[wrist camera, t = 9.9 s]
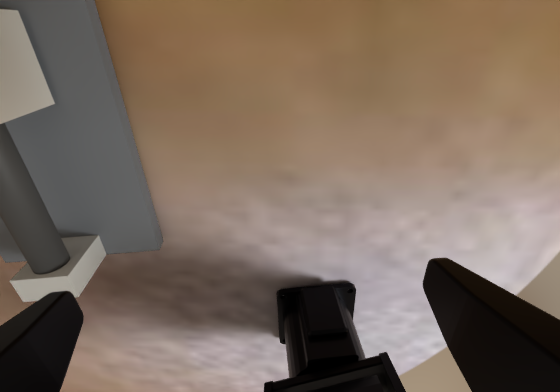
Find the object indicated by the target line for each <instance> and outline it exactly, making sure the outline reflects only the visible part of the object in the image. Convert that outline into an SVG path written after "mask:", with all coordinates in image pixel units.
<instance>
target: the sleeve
mask: <svg viewBox="0 0 560 392" xmlns="http://www.w3.org/2000/svg"><path fill="white" fill-rule="evenodd" d="M53 104H55V103H54V100H53V98H52V95H51V93H50V90H49V88H48V85H47V82H46V80H45V77H44V75H43V72H42V70H41V67H40V65H39V62H38V60H37V57H36V55H35V52H34V50H33V47H32V45H31V42H30V40H29V37H28V34H27V32H26V29H25V27H24V24H23V22H22V19H21V17H20V14H19V12H18V10H7V9H0V124H2V123H5V122H7V121H10V120H13V119H15V118H18V117H21V116H24V115H26V114H29V113H32V112H34V111H37V110H40V109H42V108H45V107H48V106H50V105H53Z"/></svg>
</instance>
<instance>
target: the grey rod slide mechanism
mask: <svg viewBox="0 0 560 392" xmlns="http://www.w3.org/2000/svg"><path fill="white" fill-rule="evenodd" d="M0 9H7V10H18V12H19V14H20V17H21V19H22V22H23V24H24V27H25V29H26V32H27V34H28V37H29V40H30V42H31V45H32V47H33V50H34V52H35V55H36V57H37V60H38V62H39V65H40V67H41V70H42V72H43V75H44V77H45V80H46V82H47V85H48V88H49V90H50V93H51V95H52V98H53V100H54V103H55V104H53V105H50V106H48V107H45V108H42V109H40V110H37V111H34V112H32V113H29V114H26V115H24V116H21V117H18V118H15V119H13V120H10V121H7V122H5V123H2V124H0V255H1V256H2V258H3V260H4V261H5V263H8V262H20V261H27V264H26V265H25V266H24V267H23V268H22V269H21V270H20V271H19V272H18V273H17V274H16V275H15V276H14V277H13V278H12V279H11V280H10V282H11V284H12V286H13V287H14V289H15V290H16V292H17V293H18V295H19V296H20V298H21V299H22V301H23V302H30V301H38V300H40V299H41V298H43V297H44V296H46V295H47V294H49V293H51V292H58V291H70V292H71V293H72V294H73V295H74V297H79V296H80V294H81V293H82V291H83V290H84V288H85V287H86V285H87V284H88V282H89V280H90V279H91V277H92V276H93V274H94V273H95V271H96V270H97V268H98V267H99V265H100V264H101V262H102V260H103V259H104V257H105V256H106V254H117V253H129V252H141V251H153V250H160V248H161V245H162V243H163V238H162V234H161V231H160V228H159V224H158V221H157V217H156V214H155V210H154V207H153V203H152V200H151V196H150V193H149V189H148V186H147V182H146V179H145V175H144V172H143V168H142V165H141V161H140V158H139V154H138V151H137V147H136V144H135V140H134V137H133V133H132V130H131V126H130V123H129V119H128V116H127V112H126V109H125V105H124V102H123V98H122V95H121V91H120V88H119V84H118V81H117V77H116V74H115V71H114V67H113V64H112V60H111V57H110V53H109V50H108V46H107V43H106V39H105V36H104V32H103V29H102V25H101V22H100V18H99V15H98V11H97V8H96V4H95V1H94V0H0Z"/></svg>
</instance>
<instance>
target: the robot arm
mask: <svg viewBox="0 0 560 392" xmlns="http://www.w3.org/2000/svg"><path fill="white" fill-rule="evenodd" d="M348 289H349V290H348ZM423 289H424V292H425V294H426V297H427V299H428V301H429V304H430V306H431V308H432V311H433V313H434V316H435V318H436V320H437V323H438V325H439V327H440V330H441V332H442V335H443V337H444V339H445V341H446V344H447V346H448V348H449V350H450V351H451V354H452V355H453V358H454V359H455V361H456V363H457V365H458V367H459V369H460V370H461V372H462V374H463V376H464V378H465V380H466V381H467V383H468V385H469V387H470V389H471V391H472V392H560V320H559V319H557V318H555V317H554V316H552V315H550V314H548V313H546V312H544V311H543V310H541V309H539V308H537V307H535V306H534V305H532V304H530V303H528V302H526V301H525V300H523V299H521V298H519V297H517V296H516V295H514V294H512V293H510V292H508V291H506V290H505V289H503V288H501V287H499V286H497V285H496V284H494V283H492V282H490V281H488V280H486V279H485V278H483V277H481V276H479V275H477V274H476V273H474V272H472V271H470V270H468V269H466V268H465V267H463V266H461V265H459V264H457V263H456V262H454V261H452V260H450V259H448V258H434V259H430V260H429V262H428V265H427V268H426V272H425V276H424V280H423ZM281 295H284V296H281ZM355 295H356V288H355V286H354V284H352V283H344V284H333V285H322V286H311V287H300V288H289V289H281V290H279V291H278V292H277V306H278V322H279V337H280V343H282V344H286V351H287V360H288V370H289V378H287V379H283V380H280V381H276V382H273V381H270V382H266V383H265V384H264V392H406V391H405V389H404V387H403V385H402V383H401V381H400V379H399V377H398V375H397V373H396V370H395V368H394V366H393V364H392V362H391V360H390V358H389V356H388V354H387V352H384V353H380V354H379V355H378V356H374V357H370V358H365V355H364V352H363V349H362V346H361V343H360V340H359V338H358V335H357V332H356V329H355V326H354V323H353V313H354V304H355ZM82 324H83V312H82V310H81V308H80V307H79V305H78V303H77V301H76V299H75V297H74V295H73V294H72V293H71V292H70V291H58V292H51V293H49V294H47V295H46V296H44V297H43V298H41V299H40V300H38V301H37V302H35V303H34V304H32V305H31V306H29V307H28V308H26V309H25V310H23V311H22V312H20V313H19V314H17V315H16V316H14V317H13V318H12V319H10V320H9V321H7V322H6V323H4V324H3V325H1V326H0V392H60V389H61V387H62V384H63V381H64V378H65V376H66V372H67V369H68V366H69V363H70V360H71V357H72V354H73V351H74V348H75V345H76V342H77V339H78V336H79V333H80V330H81V327H82Z"/></svg>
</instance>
